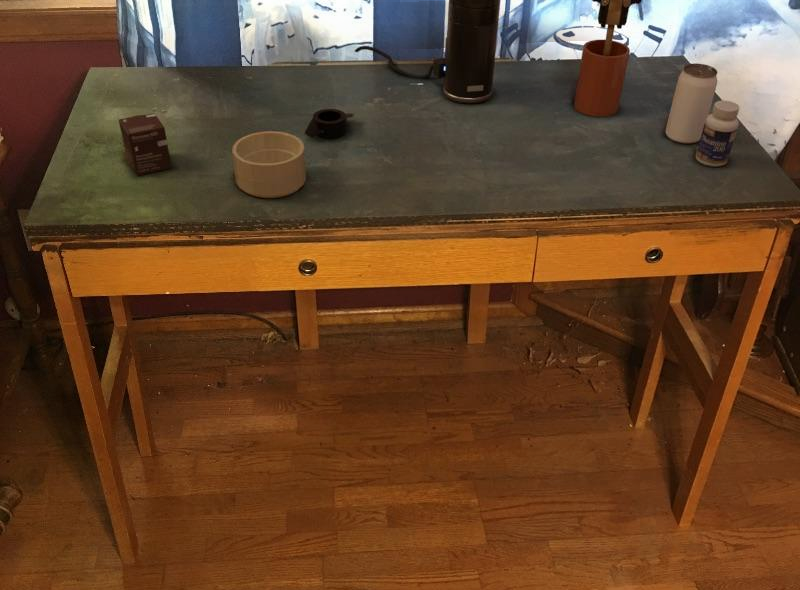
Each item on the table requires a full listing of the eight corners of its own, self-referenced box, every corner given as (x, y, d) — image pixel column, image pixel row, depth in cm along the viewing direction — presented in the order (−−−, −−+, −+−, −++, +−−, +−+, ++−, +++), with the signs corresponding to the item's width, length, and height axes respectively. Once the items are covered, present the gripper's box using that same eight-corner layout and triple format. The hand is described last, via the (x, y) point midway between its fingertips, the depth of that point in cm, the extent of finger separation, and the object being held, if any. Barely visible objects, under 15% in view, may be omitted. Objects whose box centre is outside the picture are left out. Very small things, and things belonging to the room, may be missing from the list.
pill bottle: (690, 161, 147) (705, 107, 140) (701, 149, 150) (716, 95, 143) (721, 170, 145) (737, 115, 138) (731, 158, 148) (748, 104, 141)
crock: (565, 101, 163) (574, 43, 156) (602, 94, 166) (612, 36, 158) (589, 119, 158) (599, 60, 150) (626, 112, 160) (639, 53, 153)
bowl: (228, 172, 141) (224, 138, 137) (293, 160, 145) (290, 126, 140) (248, 205, 134) (244, 170, 130) (315, 191, 137) (314, 157, 133)
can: (702, 146, 151) (721, 79, 143) (665, 142, 152) (681, 75, 143) (700, 130, 156) (718, 64, 147) (664, 126, 156) (680, 60, 148)
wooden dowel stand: (591, 87, 156) (605, -2, 146) (589, 79, 159) (603, -8, 150) (613, 88, 156) (629, 0, 146) (611, 81, 159) (626, -6, 149)
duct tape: (298, 125, 154) (297, 109, 152) (352, 119, 156) (352, 103, 154) (306, 144, 149) (305, 129, 147) (362, 138, 151) (362, 122, 149)
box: (136, 176, 140) (127, 134, 134) (126, 160, 143) (117, 118, 138) (172, 168, 142) (165, 126, 137) (162, 153, 146) (154, 111, 140)
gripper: (670, -87, 142) (648, 21, 154) (586, -91, 143) (570, 17, 155) (676, -74, 136) (652, 36, 148) (588, -79, 137) (571, 32, 149)
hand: (610, 26), depth 151 cm, fingers closed on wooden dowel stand, 2 cm apart
